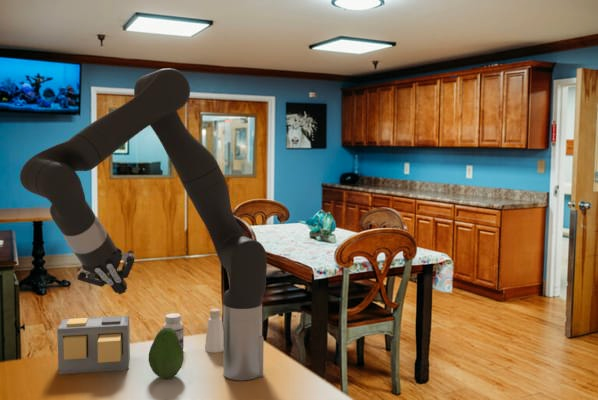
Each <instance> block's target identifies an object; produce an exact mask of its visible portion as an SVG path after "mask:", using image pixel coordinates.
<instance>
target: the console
mask: <svg viewBox="0 0 598 400" xmlns="http://www.w3.org/2000/svg"><path fill="white" fill-rule="evenodd" d="M130 330H131V329H130V315H120V316H119V315H118V316H117V315H116V316H102V317H101V316H100V317H76V318H63V319H62V320H61V322H60V324H59V325H58V327H57V331H56V332H57V362H58V363H57V367H58V368H57V369H58V372H57V373H58V375H64V374H78V373H79V374H80V373H94V372H95V373H96V372H107V371H119V370H121V371H123V370H129V366H130V361H131V347H130V346H131V345H130V344H131V342H130V341H131V339H130ZM106 333H122V355H121V360H120V361H116V362H101V363H98V339H99V336H100V334H106ZM70 335H88V354H87V357H86V358H83V359H68V360H64V348H63V339H64V337H65V336H70Z"/></svg>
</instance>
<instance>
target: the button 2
mask: <svg viewBox="0 0 598 400" xmlns="http://www.w3.org/2000/svg"><path fill="white" fill-rule="evenodd" d="M121 355H122V333H106V334H100V336H99V339H98V363H101V362H116V361H120V360H121Z"/></svg>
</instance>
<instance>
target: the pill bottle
mask: <svg viewBox="0 0 598 400" xmlns="http://www.w3.org/2000/svg"><path fill="white" fill-rule="evenodd" d="M164 318H165V319H164V320H165V322H164V323H163V325H162V329H164V328H170V327H171V328H172V329H173V330H174V331H175V332H176V334H177V336H178V339H179V342H180V344H181V346H182V349H183V350H184V347H185V345H184V323H183V322H181V320H182V317H181V314H180V313H176V312H175V313H174V312H173V313H172V312H171V313H167V314H166V315H165V317H164Z"/></svg>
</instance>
